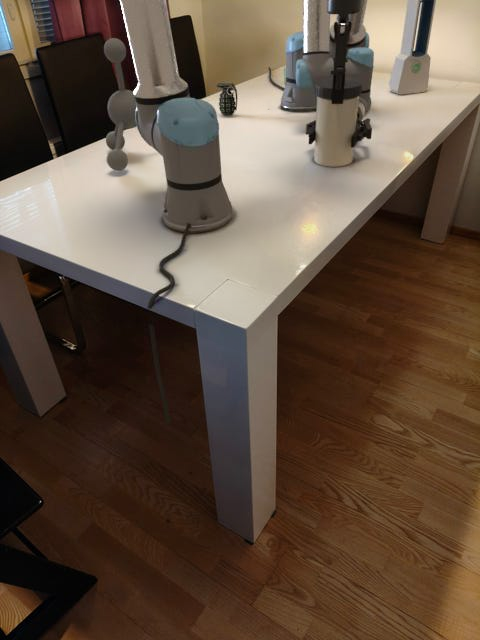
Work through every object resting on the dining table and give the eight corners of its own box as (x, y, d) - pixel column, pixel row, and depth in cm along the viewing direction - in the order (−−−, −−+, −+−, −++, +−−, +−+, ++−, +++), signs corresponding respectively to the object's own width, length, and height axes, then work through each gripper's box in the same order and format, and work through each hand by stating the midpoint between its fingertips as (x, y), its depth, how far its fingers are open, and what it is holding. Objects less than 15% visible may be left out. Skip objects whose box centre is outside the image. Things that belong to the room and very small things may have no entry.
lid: (308, 98, 119) (309, 87, 118) (322, 87, 127) (323, 77, 126) (354, 101, 115) (355, 90, 114) (366, 89, 123) (367, 79, 122)
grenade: (217, 117, 168) (214, 86, 162) (221, 112, 172) (219, 82, 166) (235, 117, 166) (233, 86, 160) (239, 113, 171) (238, 82, 165)
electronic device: (397, 95, 179) (411, -2, 161) (387, 90, 185) (399, -4, 166) (427, 91, 181) (444, -5, 163) (416, 87, 187) (431, -7, 169)
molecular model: (191, 162, 134) (177, 38, 116) (111, 177, 129) (83, 48, 110) (169, 138, 152) (153, 27, 134) (98, 150, 146) (72, 36, 128)
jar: (324, 150, 137) (329, 79, 126) (359, 156, 132) (366, 82, 121) (307, 162, 131) (310, 88, 119) (342, 169, 126) (348, 92, 114)
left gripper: (363, -4, 98) (353, 110, 112) (361, -14, 117) (352, 85, 130) (325, -2, 100) (320, 110, 113) (329, -12, 118) (324, 86, 131)
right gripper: (388, 132, 139) (374, 159, 123) (310, 127, 146) (288, 151, 130) (391, 104, 134) (378, 128, 118) (311, 100, 142) (288, 122, 126)
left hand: (337, 97), depth 122 cm, fingers closed on lid, 11 cm apart
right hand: (331, 140), depth 124 cm, fingers closed on jar, 10 cm apart
